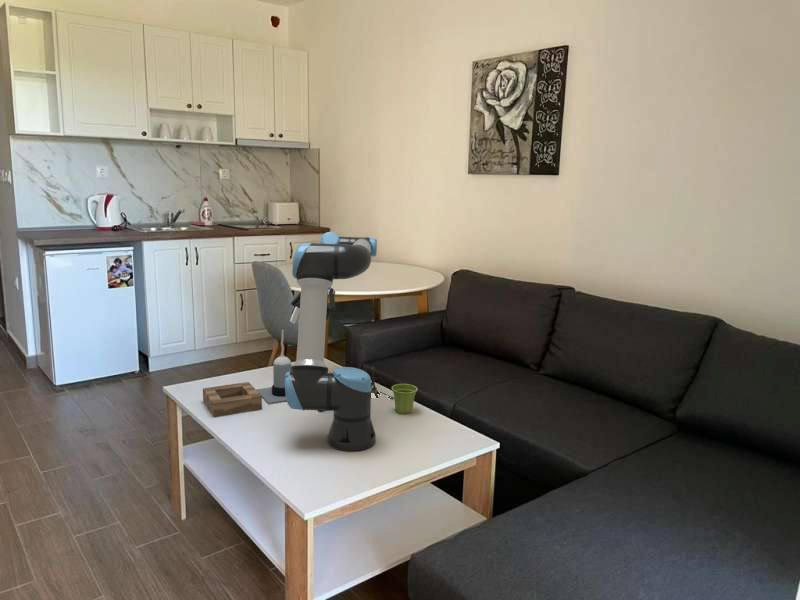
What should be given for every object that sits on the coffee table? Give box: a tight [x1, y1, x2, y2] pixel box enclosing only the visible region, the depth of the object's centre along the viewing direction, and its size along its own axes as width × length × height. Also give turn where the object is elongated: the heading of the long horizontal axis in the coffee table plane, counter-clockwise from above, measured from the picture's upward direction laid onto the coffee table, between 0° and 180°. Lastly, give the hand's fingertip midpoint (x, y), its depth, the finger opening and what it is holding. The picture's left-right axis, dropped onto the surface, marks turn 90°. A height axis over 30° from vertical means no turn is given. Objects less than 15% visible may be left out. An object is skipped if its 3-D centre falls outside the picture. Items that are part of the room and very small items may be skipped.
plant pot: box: [391, 383, 418, 415], centre depth 212 cm, size 9×9×9 cm
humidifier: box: [271, 329, 292, 397], centre depth 223 cm, size 8×8×25 cm
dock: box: [202, 381, 263, 418], centre depth 213 cm, size 17×17×5 cm
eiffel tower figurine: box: [371, 366, 394, 400], centre depth 226 cm, size 15×10×13 cm
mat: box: [255, 386, 287, 405], centre depth 226 cm, size 16×16×1 cm
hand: (305, 324), depth 229 cm, fingers open, 13 cm apart
